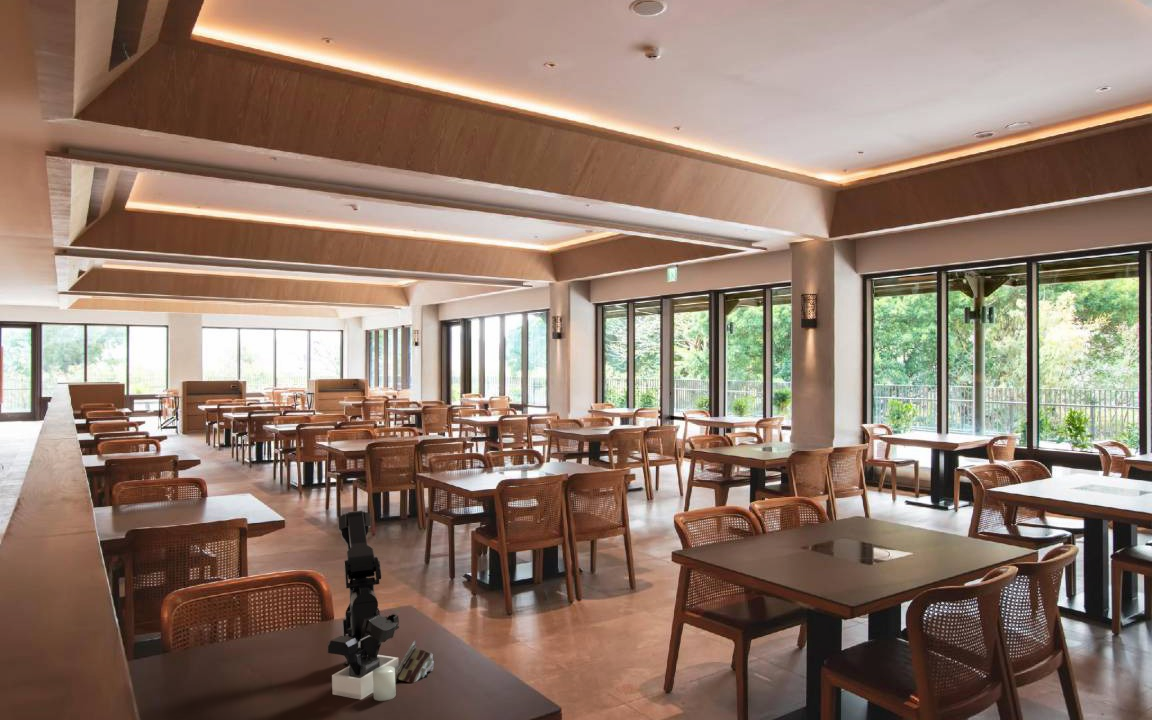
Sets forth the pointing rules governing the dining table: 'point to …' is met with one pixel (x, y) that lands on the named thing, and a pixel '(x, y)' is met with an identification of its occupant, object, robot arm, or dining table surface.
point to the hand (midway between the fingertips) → (365, 670)
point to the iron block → (365, 666)
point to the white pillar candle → (384, 683)
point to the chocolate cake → (414, 665)
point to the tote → (358, 680)
